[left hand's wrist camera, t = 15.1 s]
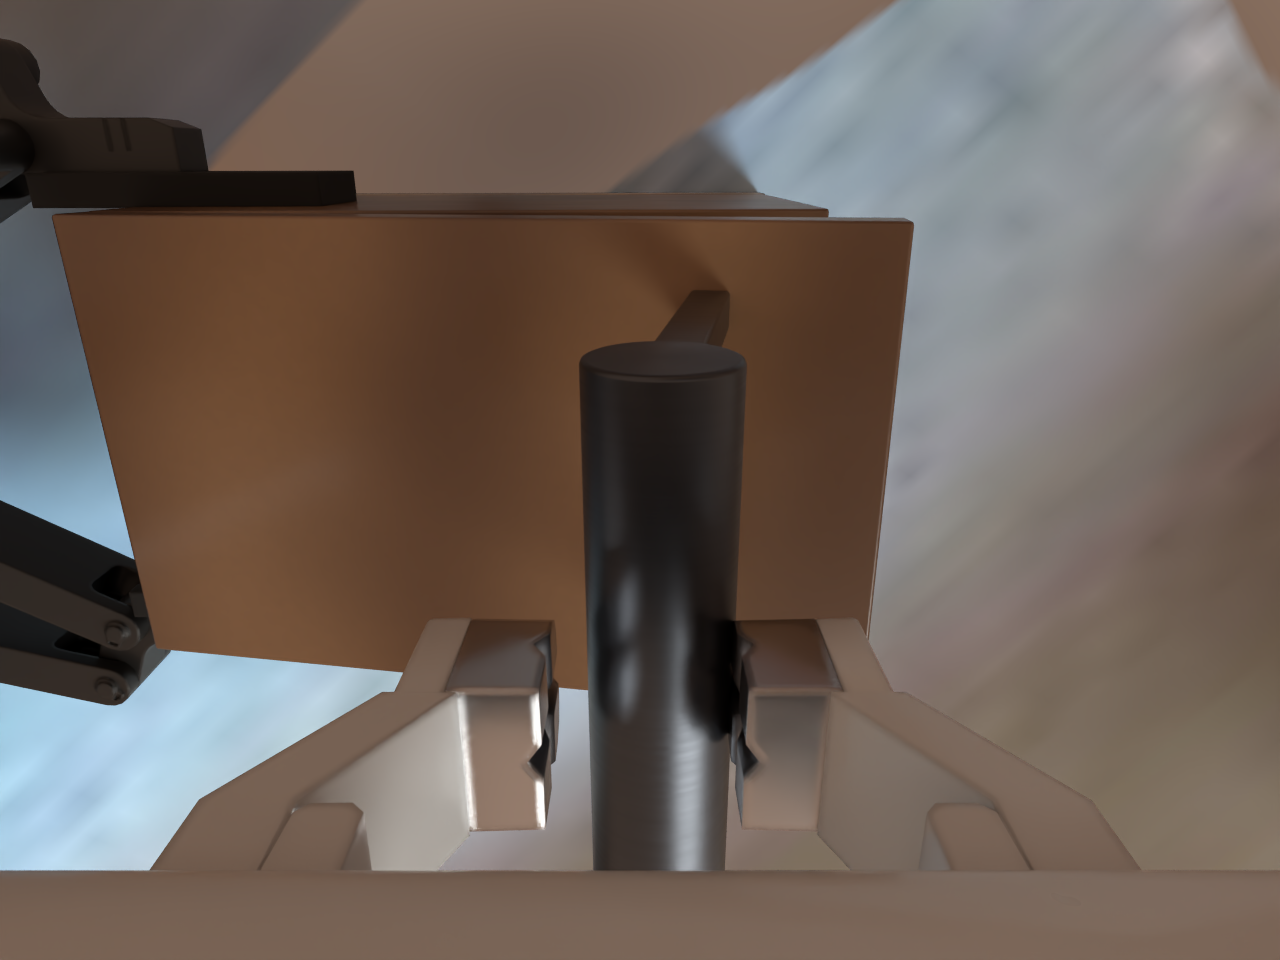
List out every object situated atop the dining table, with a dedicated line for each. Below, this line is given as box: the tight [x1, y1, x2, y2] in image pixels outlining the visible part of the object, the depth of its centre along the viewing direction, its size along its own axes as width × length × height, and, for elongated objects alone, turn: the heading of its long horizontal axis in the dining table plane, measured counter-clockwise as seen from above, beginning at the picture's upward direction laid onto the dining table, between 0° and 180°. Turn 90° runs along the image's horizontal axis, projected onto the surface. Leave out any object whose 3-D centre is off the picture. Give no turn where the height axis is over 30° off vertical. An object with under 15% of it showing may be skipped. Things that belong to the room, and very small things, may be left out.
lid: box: [52, 212, 914, 871], centre depth 14 cm, size 16×10×8 cm, turn 90°
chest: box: [89, 192, 829, 217], centre depth 24 cm, size 16×10×10 cm, turn 90°
